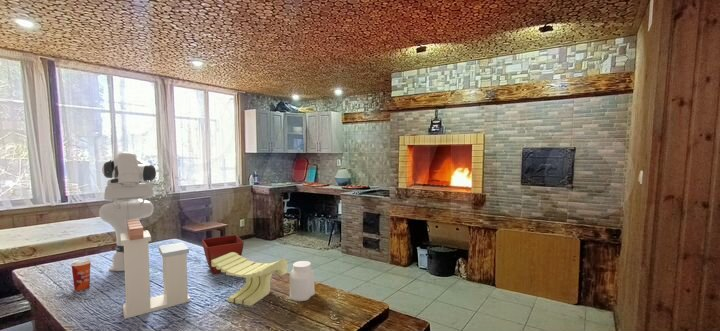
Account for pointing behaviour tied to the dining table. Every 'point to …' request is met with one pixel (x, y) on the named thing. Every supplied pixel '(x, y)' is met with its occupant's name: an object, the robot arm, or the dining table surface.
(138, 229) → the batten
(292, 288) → the jar
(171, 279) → the stand
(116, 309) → the dining table surface
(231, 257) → the slatted curved stool
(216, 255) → the plant pot
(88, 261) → the paper cup
